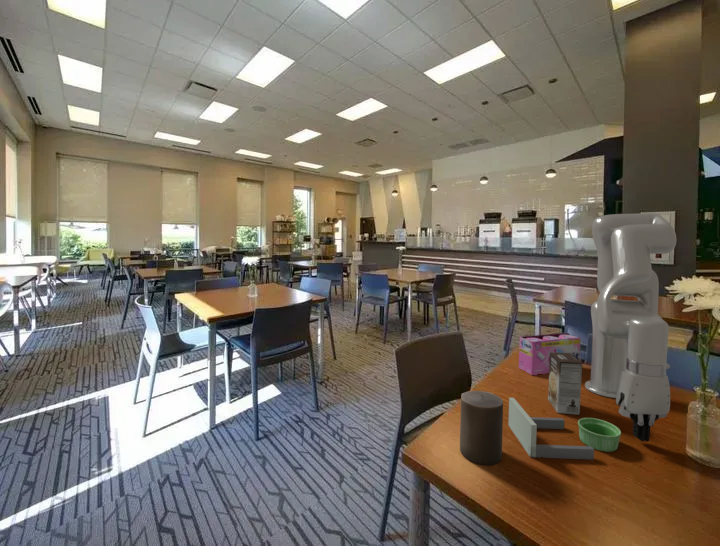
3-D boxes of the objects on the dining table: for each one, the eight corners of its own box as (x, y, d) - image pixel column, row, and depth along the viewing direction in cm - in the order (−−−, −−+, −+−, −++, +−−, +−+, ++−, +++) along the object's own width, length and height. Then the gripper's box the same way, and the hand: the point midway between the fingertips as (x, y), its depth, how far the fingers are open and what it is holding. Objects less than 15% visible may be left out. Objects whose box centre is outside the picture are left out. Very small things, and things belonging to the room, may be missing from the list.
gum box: (566, 363, 143) (568, 332, 142) (583, 370, 135) (584, 337, 134) (517, 369, 138) (518, 336, 136) (531, 376, 130) (533, 341, 129)
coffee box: (546, 399, 110) (548, 351, 109) (568, 401, 109) (570, 352, 108) (557, 413, 101) (559, 361, 100) (581, 415, 100) (583, 362, 99)
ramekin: (615, 458, 80) (616, 440, 80) (572, 442, 87) (572, 425, 86) (624, 443, 86) (625, 427, 86) (583, 429, 93) (584, 414, 92)
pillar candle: (498, 470, 76) (501, 406, 75) (455, 457, 81) (456, 396, 80) (504, 448, 84) (506, 390, 83) (464, 437, 89) (465, 382, 88)
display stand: (561, 426, 94) (563, 398, 93) (593, 459, 80) (595, 426, 79) (508, 425, 95) (509, 397, 94) (530, 457, 81) (531, 425, 80)
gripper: (664, 362, 87) (660, 431, 89) (604, 362, 88) (600, 429, 90) (691, 374, 80) (685, 448, 81) (624, 372, 81) (620, 446, 82)
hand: (640, 438), depth 85 cm, fingers closed
